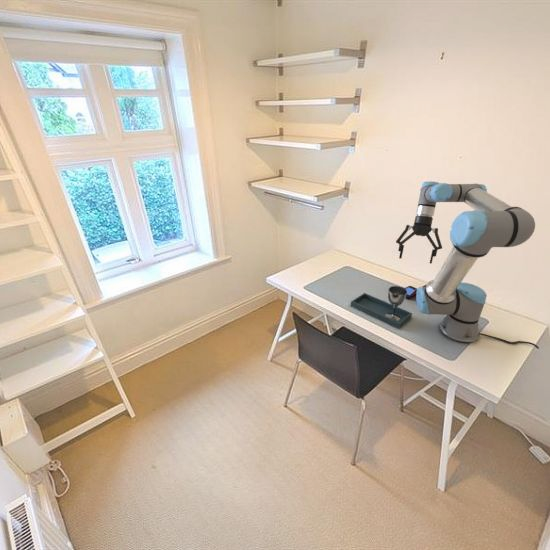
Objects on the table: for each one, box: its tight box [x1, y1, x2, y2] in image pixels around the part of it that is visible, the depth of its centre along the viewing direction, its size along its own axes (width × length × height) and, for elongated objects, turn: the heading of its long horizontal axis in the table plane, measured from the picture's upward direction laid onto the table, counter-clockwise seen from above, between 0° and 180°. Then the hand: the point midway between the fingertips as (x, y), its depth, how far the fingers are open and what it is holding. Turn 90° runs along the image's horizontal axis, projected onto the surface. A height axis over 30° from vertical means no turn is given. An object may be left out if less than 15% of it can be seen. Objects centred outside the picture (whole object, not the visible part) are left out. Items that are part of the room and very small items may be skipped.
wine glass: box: [385, 285, 407, 321], centre depth 148 cm, size 8×8×15 cm
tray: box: [350, 292, 413, 329], centre depth 156 cm, size 27×12×3 cm, turn 42°
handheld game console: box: [403, 283, 428, 300], centre depth 169 cm, size 12×11×7 cm
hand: (415, 260), depth 150 cm, fingers open, 13 cm apart
